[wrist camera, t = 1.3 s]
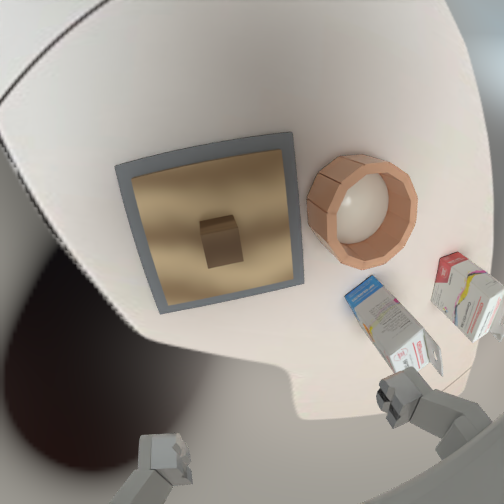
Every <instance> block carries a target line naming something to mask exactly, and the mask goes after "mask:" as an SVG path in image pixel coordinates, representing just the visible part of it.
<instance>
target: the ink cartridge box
mask: <svg viewBox="0 0 504 504" xmlns="http://www.w3.org/2000/svg"><path fill="white" fill-rule="evenodd" d="M431 302H433V303H434V304H435V305H436V306H437V307H438V308H439V309H440V310H441V311H442V312H443V313H444V314H445V315H446V316H447V317H448V318H449V319H450V320H451V321H452V322H453V323H454V324H455V325H456V326H457V327H458V328H459V329H460V330H461V331H462V332H463V333H464V334H465V335H466V336H467V338H468V339H469V340H470V341H471V342H472V343H473V342H475V341H476V340H478V339H479V338H481V337H482V336H484V335H485V334H486V333H488V332H489V331H490V332H491V333H492V334H493V336H495V338H496V339H497V340H498V341H499V342H501V341H502V338H503V336H504V323H503V325H501V324H500V322H501V319H502V317H503V315H504V285H503V284H501V283H500V282H499V281H498V280H496V279H495V278H493V277H492V276H491V275H490V274H488V273H487V272H486V271H484V270H483V269H482V268H480V267H479V266H477V265H476V264H475V263H473V262H472V261H470V260H469V259H468V258H466V257H465V256H463V255H462V254H460V253H459V252H456V253H454V254H451V255H448V256H446V257H443V258H440V262H439V267H438V272H437V277H436V281H435V286H434V290H433V294H432V298H431Z"/></svg>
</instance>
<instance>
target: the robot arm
mask: <svg viewBox="0 0 504 504" xmlns="http://www.w3.org/2000/svg"><path fill="white" fill-rule="evenodd" d="M379 386H380V389H379V390H378V391H377V395H376V398H377V403H378V406H379V408H380V409H381V411H383V412H386V413H387V416H386V419H387V420H388V422H389V424H390V425H391V427H392V428H393V429H394V428H396V427H398V426H401V425H403V424H405V423H407V422H409V421H410V423H412V424H414V425H416V426H418V427H420V428H421V429H423V430H425V431H427V432H429V433H431V434H433V435H435V436H438V437H439V438H441V441H440V442H439V444H438V445H437V446H436V451H437V453H438V455H439V456H440V458H441V459H442V461H440V462H439V463H437V464H435V465H434V466H432V467H431V468H429V469H427V470H426V471H424V472H422V473H421V474H419V475H417V476H415V477H414V478H412V479H410V480H408V481H406V482H404V483H402V484H400V485H399V486H397V487H395V488H393V489H391V490H389V491H386V492H384V493H382V494H380V495H378V496H376V497H373V498H371V499H369V500H367V501H364V502H362V503H360V504H504V412H503V413H502V414H501V415H500V416H499V417H498V418H497V419H496V420H494V421H493V422H492V421H491V419H490V418H489V417H488V415H487V414H486V413H485V412H484V411H483V409H482V408H481V407H480V406H479V405H478V403H475V402H471V401H469V400H465V399H463V398H460V397H457V396H454V395H451V394H448V393H445V392H442V391H440V390H437V389H435V390H432V388H431V387H430V386H429V385H428V384H427V382H426V381H425V380H424V379H423V378H422V376H421V375H420V374H419V373H418V372H417V370H416V369H415V368H414V367H412V366H411V367H408V368H406V369H404V370H402V371H399V372H397V373H395V374H393V375H390V376H388V377H386V378H384V379H382V380H381V381H380V383H379ZM190 461H191V459H190V453H189V448H188V446H187V444H186V443H185V442H184V441H182V440H181V436H180V434H179V433H169V434H156V435H154V434H153V435H141V437H140V441H139V457H138V470H134V471H133V473H132V474H131V475H130V477H129V478H128V479H127V480H126V482H125V483H124V484H123V486H122V487H121V488H120V490H119V491H118V492H117V493H116V495H115V496H114V497H113V498H112V500H111V501H110V502H109V503H108V504H164V502H165V501H166V499H167V497H168V495H169V493H170V492H171V490H172V488H173V486H177V485H188V484H193V482H192V471H191V469H190V468H189V467H188V465H189V463H190Z"/></svg>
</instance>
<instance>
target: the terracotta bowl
mask: <svg viewBox="0 0 504 504" xmlns="http://www.w3.org/2000/svg"><path fill="white" fill-rule="evenodd" d="M307 198H308V199H307V213H308V224H309V226H310V228H311V229H312V230H313V232H314V233H315V235H316V236H317V237H318V239H319V240H320V242H321V243H322V244H323V245H324V246H325V247H326V248H327V249H328V250H329V251H330V252H331V253H332V254H333V255H334V256H335V257H336V258H337V259H338V260H339V261H340V262H341V263H342V264H345V265H348V266H351V267H354V268H357V269H360V270H365V269H369V268H372V267H376V266H380V265H383V264H384V263H387V262H388V261H389V260H390V259H391V258H392V257H394V256H395V255H396V254H397V253H398V252H399V251H400V250H401V249H403V248H404V247H403V246H405V244H406V242H407V240H408V238H409V236H410V234H411V232H412V230H413V228H414V226H415V223H416V216H417V203H418V198H417V194H416V192H415V189H414V187H413V184H412V182H411V179H410V177H409V175H408V174H407V173H405V172H404V171H402V170H401V169H399V168H398V167H396V166H395V165H393V164H392V163H390V162H387V161H384V160H381V159H377V158H374V157H370V156H367V155H363V154H358V155H347V156H339V157H337V158H336V159H335V160H333V161H332V162H331V163H329V164H328V165H327V166H326V167H324V168H323V169H322V170H320V171H319V174H318V173H317V176H316V178H315V180H314V182H313V185H312V187H311V189H310V191H309V194H308V196H307Z"/></svg>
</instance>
